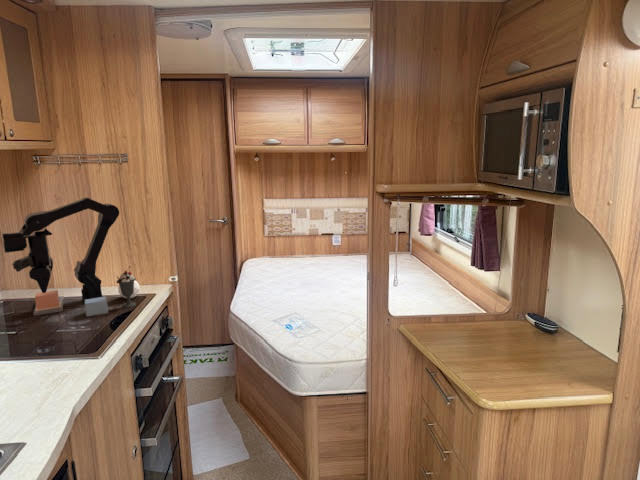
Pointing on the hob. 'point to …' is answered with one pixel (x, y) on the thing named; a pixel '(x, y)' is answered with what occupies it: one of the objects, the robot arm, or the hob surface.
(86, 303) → the slate brick
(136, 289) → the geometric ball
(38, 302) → the terracotta brick
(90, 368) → the hob surface
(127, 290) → the sundae
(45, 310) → the build plate
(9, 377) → the hob surface
